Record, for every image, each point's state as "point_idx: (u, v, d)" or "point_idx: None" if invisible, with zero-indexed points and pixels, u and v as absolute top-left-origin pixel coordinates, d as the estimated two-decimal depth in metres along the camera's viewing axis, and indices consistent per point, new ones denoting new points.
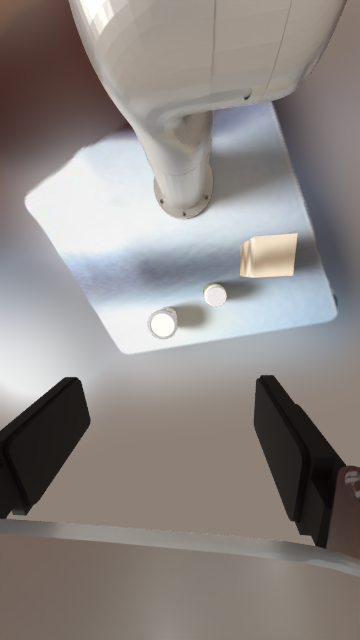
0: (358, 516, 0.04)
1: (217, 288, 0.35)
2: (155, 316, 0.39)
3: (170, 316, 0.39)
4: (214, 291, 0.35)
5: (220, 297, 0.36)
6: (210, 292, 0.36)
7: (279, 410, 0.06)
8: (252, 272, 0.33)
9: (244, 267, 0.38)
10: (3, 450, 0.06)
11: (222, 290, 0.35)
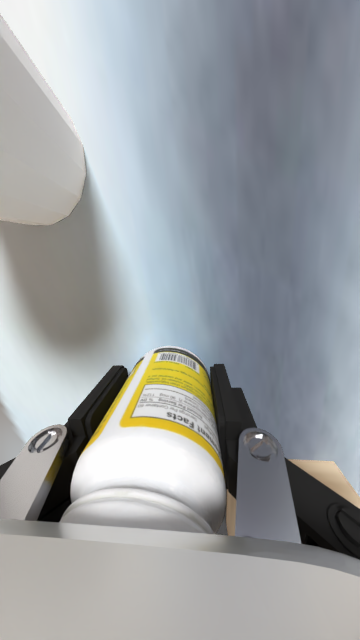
0: (253, 467, 0.05)
1: None
2: None
3: None
4: None
5: None
6: None
7: (216, 390, 0.08)
8: None
9: None
10: (84, 423, 0.07)
11: None
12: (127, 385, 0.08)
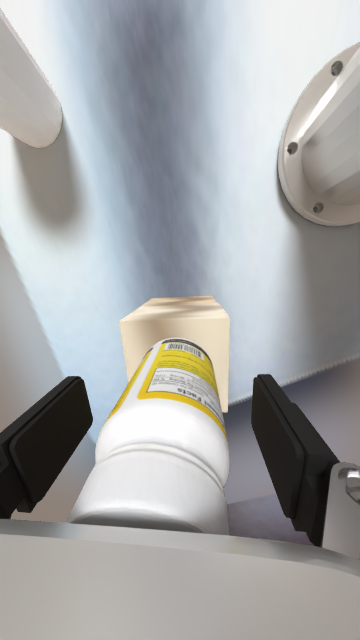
0: (351, 512, 0.04)
1: None
2: None
3: None
4: None
5: None
6: None
7: (275, 408, 0.06)
8: (137, 317, 0.12)
9: (162, 303, 0.17)
10: (8, 448, 0.06)
11: None
12: (139, 370, 0.08)
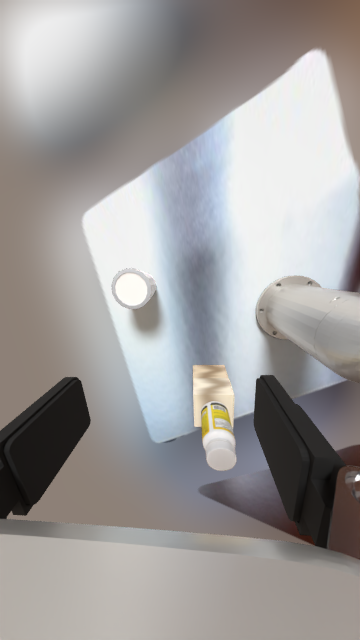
0: (358, 516, 0.04)
1: (234, 461, 0.23)
2: (142, 280, 0.29)
3: (144, 300, 0.30)
4: (229, 457, 0.23)
5: (220, 464, 0.24)
6: (229, 453, 0.23)
7: (279, 410, 0.06)
8: (198, 392, 0.31)
9: (202, 374, 0.37)
10: (3, 450, 0.06)
11: (231, 466, 0.23)
12: (207, 417, 0.28)
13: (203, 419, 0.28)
